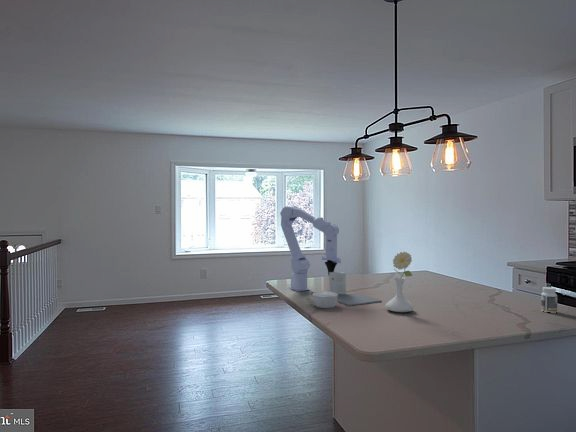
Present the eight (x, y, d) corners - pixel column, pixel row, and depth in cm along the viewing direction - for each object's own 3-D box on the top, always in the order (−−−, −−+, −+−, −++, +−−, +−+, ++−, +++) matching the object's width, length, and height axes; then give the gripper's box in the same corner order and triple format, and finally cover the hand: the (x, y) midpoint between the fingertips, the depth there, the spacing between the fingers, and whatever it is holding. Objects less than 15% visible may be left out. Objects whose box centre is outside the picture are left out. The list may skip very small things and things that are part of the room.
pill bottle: (558, 311, 167) (559, 287, 167) (555, 314, 163) (555, 289, 163) (542, 309, 171) (543, 286, 171) (539, 311, 167) (539, 287, 167)
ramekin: (315, 309, 170) (315, 297, 170) (309, 303, 181) (309, 291, 181) (341, 308, 172) (341, 296, 172) (334, 302, 183) (334, 290, 183)
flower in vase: (379, 309, 171) (380, 249, 170) (401, 306, 175) (402, 249, 174) (399, 316, 159) (399, 253, 158) (422, 314, 163) (423, 252, 162)
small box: (345, 293, 201) (345, 272, 202) (345, 294, 195) (345, 272, 196) (329, 293, 202) (329, 271, 203) (329, 294, 196) (329, 272, 197)
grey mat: (326, 297, 192) (326, 296, 192) (358, 294, 200) (358, 293, 200) (348, 305, 176) (348, 304, 176) (381, 301, 184) (381, 300, 184)
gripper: (346, 249, 198) (345, 277, 198) (330, 247, 211) (330, 273, 211) (334, 250, 195) (333, 278, 195) (318, 247, 208) (318, 273, 208)
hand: (331, 275), depth 203 cm, fingers closed, pressing on small box
